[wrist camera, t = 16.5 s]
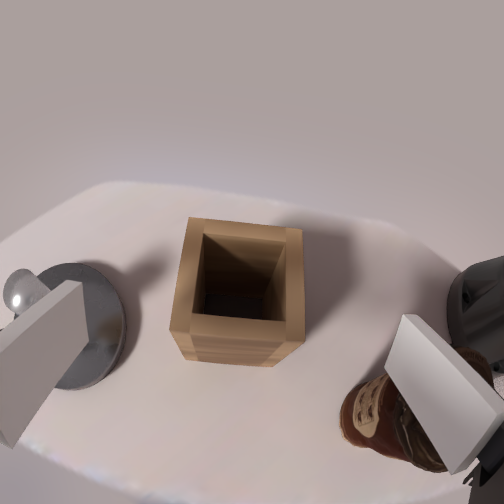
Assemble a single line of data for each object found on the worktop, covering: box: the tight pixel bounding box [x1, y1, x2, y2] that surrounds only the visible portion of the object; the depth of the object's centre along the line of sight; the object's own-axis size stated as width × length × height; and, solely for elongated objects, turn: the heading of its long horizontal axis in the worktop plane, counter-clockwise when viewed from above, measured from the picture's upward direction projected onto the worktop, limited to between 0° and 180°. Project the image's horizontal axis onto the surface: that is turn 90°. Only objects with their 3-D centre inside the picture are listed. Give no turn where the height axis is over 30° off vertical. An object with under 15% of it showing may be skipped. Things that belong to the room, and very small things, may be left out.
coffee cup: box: [339, 344, 495, 473], centre depth 17 cm, size 9×8×13 cm
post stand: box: [3, 263, 126, 390], centre depth 20 cm, size 12×12×9 cm
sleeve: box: [169, 217, 305, 367], centre depth 22 cm, size 7×7×10 cm
